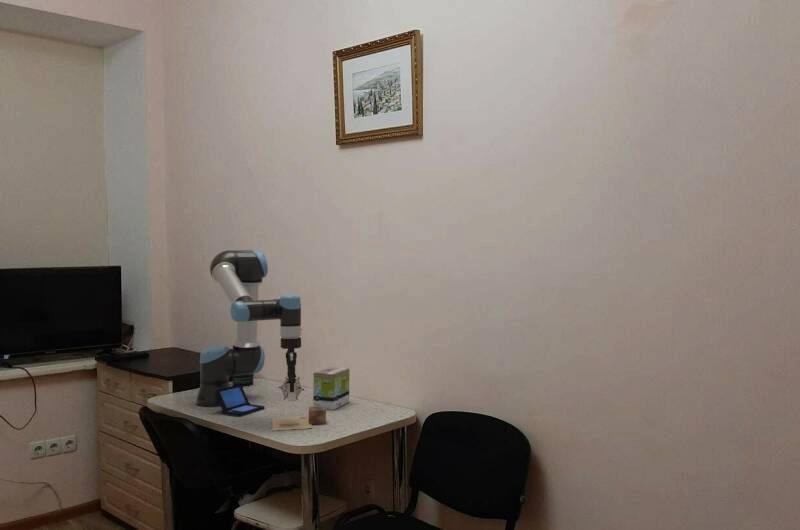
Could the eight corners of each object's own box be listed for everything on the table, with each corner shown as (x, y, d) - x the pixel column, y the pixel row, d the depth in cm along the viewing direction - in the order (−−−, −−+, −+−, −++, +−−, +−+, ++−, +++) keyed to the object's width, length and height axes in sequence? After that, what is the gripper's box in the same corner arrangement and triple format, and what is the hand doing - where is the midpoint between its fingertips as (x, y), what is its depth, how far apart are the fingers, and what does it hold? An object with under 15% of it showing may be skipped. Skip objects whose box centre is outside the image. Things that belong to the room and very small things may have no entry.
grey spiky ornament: (296, 408, 243) (311, 385, 246) (290, 405, 235) (306, 381, 238) (277, 395, 246) (292, 372, 248) (270, 391, 238) (287, 368, 240)
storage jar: (247, 382, 322) (247, 351, 321) (257, 385, 314) (257, 354, 314) (228, 384, 315) (228, 353, 315) (238, 388, 308) (237, 356, 308)
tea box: (335, 410, 262) (334, 373, 262) (312, 408, 265) (312, 372, 265) (350, 402, 276) (349, 367, 276) (328, 400, 280) (328, 366, 279)
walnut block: (309, 423, 240) (309, 410, 240) (308, 419, 246) (309, 406, 246) (325, 423, 241) (326, 410, 241) (324, 419, 247) (325, 406, 247)
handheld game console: (239, 418, 252) (239, 394, 252) (213, 414, 259) (213, 390, 258) (266, 409, 266) (265, 386, 266) (240, 406, 272) (240, 383, 272)
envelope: (272, 431, 232) (272, 430, 232) (272, 418, 250) (272, 417, 250) (312, 428, 235) (312, 427, 235) (309, 416, 252) (309, 415, 252)
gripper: (302, 340, 232) (303, 403, 232) (300, 333, 253) (300, 391, 253) (280, 341, 230) (281, 405, 230) (280, 334, 252) (281, 392, 252)
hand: (291, 398), depth 242 cm, fingers closed on grey spiky ornament, 9 cm apart
